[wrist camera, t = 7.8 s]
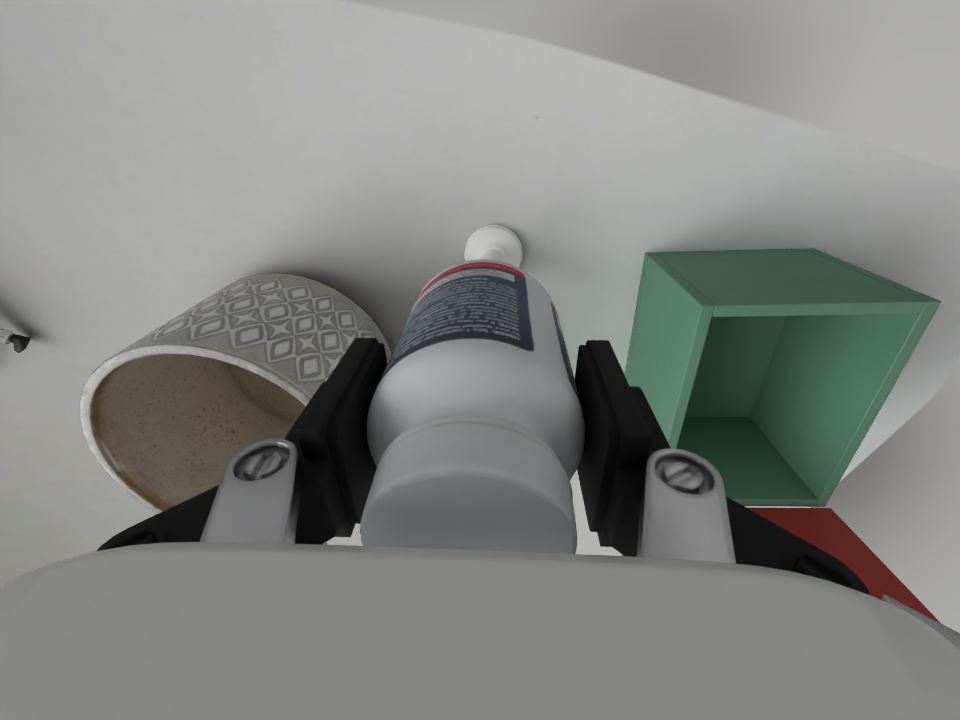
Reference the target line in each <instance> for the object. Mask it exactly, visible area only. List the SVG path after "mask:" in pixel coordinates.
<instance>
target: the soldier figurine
mask: <svg viewBox="0 0 960 720" xmlns="http://www.w3.org/2000/svg"><path fill="white" fill-rule="evenodd" d="M29 341H30V337H25V336H21V335H16V334H12V331H10V330H4V329H0V342H2V343H6V344H9V343H10V342H12V343H14V349H15V351H16V352H18V353H19V352H21V351H23V350H24V349H26V347H27V345H28V343H29Z"/></svg>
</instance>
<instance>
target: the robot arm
mask: <svg viewBox="0 0 960 720" xmlns="http://www.w3.org/2000/svg"><path fill="white" fill-rule="evenodd" d="M386 366H387V358H386V351H385V346H384V344H383V343H378V340H377V339H376V338H355V339H354V340H353V342H352V343H351V345H350V346H349V348H348V349H347V351H346V352H345V354H344V355H343V357H342V358H341V360H340V361H339V363H338V364H337V366H336V367H335V369H334V371H333V372H332V374H331V375H330V377H329V378H328V380H327V381H325V382H323V383H322V384H321V385H320V386H319V388H318V389H317V391H316V392H315V394H314V395H313V397H312V398H311V400H310V401H309V403H308V404H307V406H306V407H305V409H304V410H303V412H302V413H301V415H300V416H299V417H298V419H297V420H296V422H295V423H294V425H293V426H292V428H291V429H290V431H289V432H288V434H287V435H286V437H285V438H284V439H278V438H277V439H267V440H263V441H259V442H256V443H254V444H252V445H249V446H247V447H245V448H244V449H242V450H241V451H239V452H238V453H237V454H236V455H235V456H234V457H233V458H232V459H231V460H230V461H229V462H228V464H227V466H226V468H225V470H224V473H223V476H222V479H221V482H220V485H217V486H215V487H213V488H211V489H209V490H207V491H205V492H203V493H201V494H199V495H197V496H194V497H192V498H190V499H188V500H186V501H184V502H182V503H180V504H178V505H176V506H174V507H171V508H169V509H167V510H165V511H163V512H161V513H159V514H157V515H155V516H153V517H150V518H148V519H146V520H144V521H142V522H140V523H138V524H136V525H134V526H132V527H130V528H127V529H126V530H124V531H122V532H120V533H119V534H117V535H115V536H113V537H112V538H111V539H110V540H108V541H107V542H106V543H104V544H103V545H102V546H101V547H100V548H99V549H98V550H97V551H95V552H91V553H87V554H84V555H80V556H76V557H73V558H69V559H65V560H62V561H58V562H55V563H52V564H50V565H47V566H44V567H41V568H39V569H36V570H34V571H31V572H29V573H26V574H24V575H22V576H19V577H17V578H15V579H13V580H11V581H10V582H8V583H6V584H4V585H2V586H1V587H0V720H960V633H958V632H956V631H954V630H952V629H950V628H948V627H946V626H944V625H943V624H941V623H939V622H937V621H935V620H933V619H931V618H929V617H927V616H925V615H923V614H922V613H920V612H918V611H916V610H914V609H912V608H910V607H908V606H906V605H904V604H902V603H901V602H899V601H897V600H895V599H893V598H891V597H889V596H887V595H885V594H884V595H883V596H882V597H881V598H880V599H878V598H876V597H874V596H872V595H871V594H870V593H869V591H868V588H867V587H866V586H865V584H864V583H863V582H862V581H861V579H860V578H859V577H858V575H856V574H855V573H854V572H853V571H852V570H851V569H850V568H849V567H848V566H847V565H845V564H844V563H843V562H841V561H839V560H838V559H836V558H835V557H833V556H832V555H830V554H829V553H827V552H825V551H823V550H821V549H820V548H818V547H816V546H814V545H812V544H811V543H809V542H807V541H805V540H803V539H802V538H800V537H798V536H796V535H795V534H793V533H791V532H789V531H787V530H786V529H784V528H782V527H780V526H778V525H777V524H775V523H773V522H771V521H769V520H768V519H766V518H764V517H762V516H760V515H759V514H757V513H755V512H753V511H751V510H750V509H748V508H746V507H744V506H743V505H741V504H739V503H737V502H735V501H734V500H732V499H730V498H728V497H726V496H725V489H724V483H723V480H722V477H721V475H720V473H719V472H718V470H717V469H716V468H715V467H714V466H713V465H712V464H711V463H710V462H708V461H707V460H706V459H704V458H703V457H701V456H699V455H697V454H695V453H692V452H689V451H686V450H682V449H674V448H671V447H670V445H669V443H668V441H667V439H666V437H665V435H664V433H663V431H662V429H661V427H660V425H659V423H658V421H657V419H656V417H655V415H654V413H653V411H652V409H651V407H650V405H649V403H648V401H647V399H646V397H645V395H644V393H643V391H642V389H641V388H640V387H634V386H629V384H628V382H627V380H626V377H625V375H624V373H623V371H622V369H621V366H620V364H619V362H618V360H617V358H616V356H615V353H614V351H613V349H612V347H611V345H610V342H609V341H605V340H588V341H587V342H586V345H580V346H579V350H578V358H577V366H576V374H575V384H576V387H577V391H578V395H579V398H580V402H581V405H582V411H583V417H584V423H585V445H584V450H583V455H582V458H581V461H580V463H579V465H578V467H577V470H578V475H579V480H580V485H581V490H582V495H583V500H584V505H585V510H586V515H587V520H588V525H589V529H590V531H591V532H597V533H598V537H599V542H600V546H605V547H613V548H614V549H616V550H617V551H618V552H620V553H621V554H622V556H603V555H580V554H557V553H534V552H510V551H485V550H459V549H432V548H405V547H378V546H347V545H327V541H328V540H330V539H331V538H333V537H351V535H352V532H353V529H354V526H355V523H359V524H360V523H361V519H362V515H363V510H364V507H365V504H366V501H367V498H368V495H369V492H370V488H371V486H372V483H373V479H374V475H375V472H376V469H377V466H376V464H375V462H374V460H373V458H372V456H371V453H370V449H369V446H368V441H367V427H366V426H367V416H368V411H369V407H370V404H371V401H372V398H373V395H374V393H375V391H376V388H377V386H378V383H379V381H380V379H381V377H382V375H383V372H384V370H385V368H386Z"/></svg>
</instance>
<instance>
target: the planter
mask: <svg viewBox="0 0 960 720" xmlns="http://www.w3.org/2000/svg"><path fill="white" fill-rule="evenodd" d="M355 338H376V339H377V340H378V343H383V344H384V346H385V351H386V358H387V364H388V361H389V359H390V357H391V351H390V348H389V346H388V344H387V342H386V340H385V338H384V336H383V334H382V333H381V331H380V330H379V328H378V327H377V325H376V324H375V323H374V322H373V320H372V319H371V318H370V317H369V316H368V315H367V314H366V312H365V311H364V310H362V309H361V308H360V307H359V306H358V305H357V304H355V303H354V302H353V301H352V300H351V299H349V298H348V297H346V296H345V295H343V294H341V293H340V292H338V291H337V290H335V289H333V288H331V287H329V286H327V285H325V284H323V283H320V282H317V281H314V280H312V279H309V278H306V277H301V276H296V275H291V274H280V273H267V274H259V275H252V276H249V277H246V278H243V279H239V280H237V281H236V282H234V283H232V284H230V285H228V286H226V287H225V288H223V289H221V290H220V291H218V292H216V293H215V294H213V295H212V296H210V297H208V298H207V299H205V300H203V301H202V302H200V303H198V304H197V305H195V306H194V307H192V308H190V309H189V310H187V311H185V312H184V313H182V314H180V315H179V316H177V317H176V318H174V319H172V320H171V321H169V322H167V323H166V324H164V325H162V326H161V327H159V328H158V329H156V330H154V331H153V332H151V333H149V334H148V335H146V336H144V337H143V338H141V339H140V340H138V341H136V342H135V343H133V344H131V345H130V346H128V347H127V348H125V349H123V350H122V351H120V352H118V353H117V354H115V355H113V356H112V357H110V358H109V359H107V360H106V361H105V362H103V363H102V364H101V365H100V366H99V367H98V368H97V369H95V370H94V371H93V373H92V374H91V376H90V378H89V379H88V381H87V382H86V384H85V386H84V389H83V392H82V396H81V399H80V418H81V423H82V428H83V432H84V435H85V437H86V439H87V442H88V444H89V447H90V448H91V450H92V452H93V453H94V455H95V457H96V458H97V460H98V462H99V463H100V464H101V465H102V467H103V468H104V469H105V470H106V472H107V473H108V474H109V475H110V477H111V478H112V479H113V480H115V481H116V482H117V483H118V484H119V485H120V486H121V487H122V488H123V489H124V490H125V491H126V492H127V493H129V494H130V495H131V496H132V497H134V498H135V499H136V500H137V501H139V502H140V503H142V504H143V505H145V506H146V507H148V508H149V509H151V510H152V511H154V512H155V513H157V514H159V513H161V512H163V511H165V510H167V509H169V508H171V507H174V506H176V505H178V504H180V503H182V502H184V501H186V500H188V499H190V498H192V497H194V496H197V495H199V494H201V493H203V492H205V491H207V490H209V489H211V488H213V487H215V486H217V485H220V482H221V479H222V476H223V473H224V470H225V468H226V466H227V464H228V462H229V461H230V460H231V459H232V458H233V457H234V456H235V455H236V454H237V453H238V452H239V451H241V450H242V449H244V448H245V447H247V446H249V445H252V444H254V443H256V442H259V441H263V440H267V439H277V438H278V439H284V438H285V437H286V435H287V434H288V432H289V431H290V429H291V428H292V426H293V425H294V423H295V422H296V420H297V419H298V417H299V416H300V415H301V413H302V412H303V410H304V409H305V407H306V406H307V404H308V403H309V401H310V400H311V398H312V397H313V395H314V394H315V392H316V391H317V389H318V388H319V386H320V385H321V384H322V383H323V382H325V381H327V380H328V378H329V377H330V375H331V374H332V372H333V371H334V369H335V367H336V366H337V364H338V363H339V361H340V360H341V358H342V357H343V355H344V354H345V352H346V351H347V349H348V348H349V346H350V345H351V343H352V342H353V340H354V339H355Z"/></svg>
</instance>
